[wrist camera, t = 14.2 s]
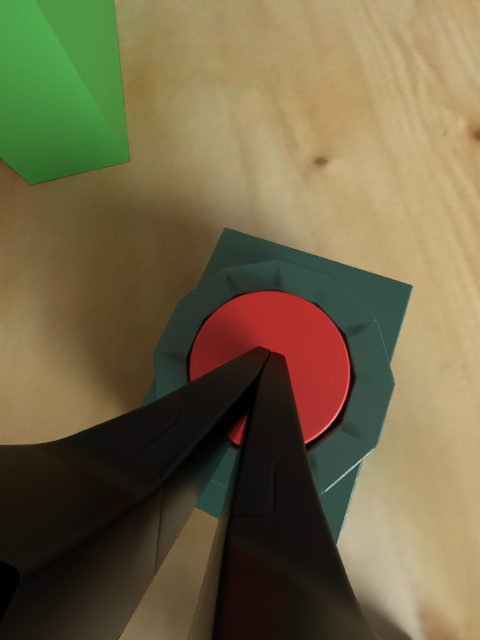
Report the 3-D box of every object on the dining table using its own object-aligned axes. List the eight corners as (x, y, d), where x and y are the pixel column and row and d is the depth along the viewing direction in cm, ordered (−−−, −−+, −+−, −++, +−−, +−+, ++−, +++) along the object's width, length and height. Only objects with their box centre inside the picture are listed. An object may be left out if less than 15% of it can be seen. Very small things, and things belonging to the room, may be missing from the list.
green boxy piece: (312, 525, 14) (342, 617, 8) (154, 447, 15) (84, 476, 9) (377, 314, 16) (438, 265, 10) (235, 266, 17) (218, 201, 12)
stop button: (308, 463, 10) (319, 482, 8) (185, 408, 11) (162, 410, 9) (349, 336, 12) (371, 320, 9) (234, 296, 12) (225, 270, 10)
